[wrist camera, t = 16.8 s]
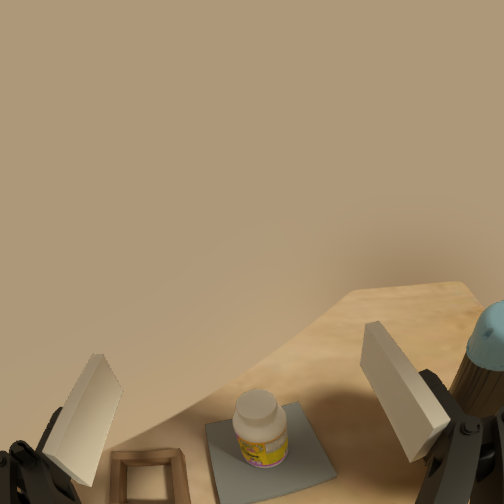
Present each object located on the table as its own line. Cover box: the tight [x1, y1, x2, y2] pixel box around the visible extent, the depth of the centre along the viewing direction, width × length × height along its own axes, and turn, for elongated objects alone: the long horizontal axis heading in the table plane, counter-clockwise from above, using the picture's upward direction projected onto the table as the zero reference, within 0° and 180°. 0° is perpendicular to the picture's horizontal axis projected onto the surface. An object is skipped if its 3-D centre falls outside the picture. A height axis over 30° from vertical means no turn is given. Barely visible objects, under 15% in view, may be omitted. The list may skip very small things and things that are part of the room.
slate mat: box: [205, 402, 337, 504], centre depth 32 cm, size 16×16×1 cm
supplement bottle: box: [233, 389, 288, 468], centre depth 30 cm, size 7×7×13 cm
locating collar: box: [110, 448, 191, 504], centre depth 26 cm, size 12×12×2 cm
